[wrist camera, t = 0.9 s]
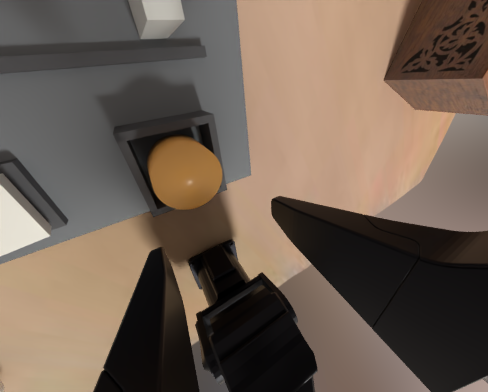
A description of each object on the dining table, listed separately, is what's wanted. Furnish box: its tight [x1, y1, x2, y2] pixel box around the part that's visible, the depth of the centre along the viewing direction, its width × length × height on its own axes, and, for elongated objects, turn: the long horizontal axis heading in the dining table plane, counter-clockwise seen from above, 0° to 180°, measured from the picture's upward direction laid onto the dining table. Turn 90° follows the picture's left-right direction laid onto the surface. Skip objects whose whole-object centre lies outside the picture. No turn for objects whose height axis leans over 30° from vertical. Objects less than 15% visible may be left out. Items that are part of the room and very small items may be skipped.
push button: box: [147, 134, 222, 210], centre depth 13 cm, size 4×4×3 cm
